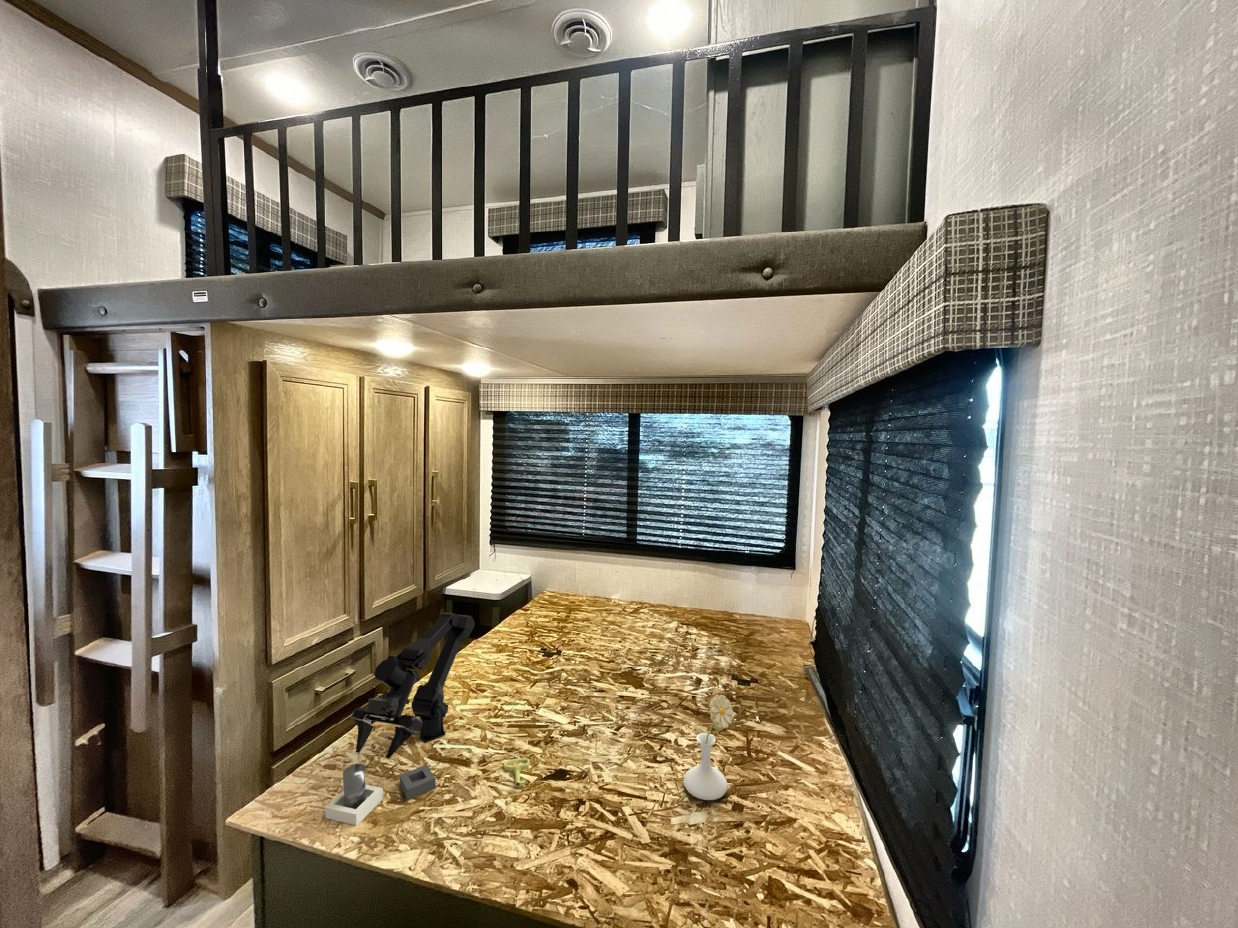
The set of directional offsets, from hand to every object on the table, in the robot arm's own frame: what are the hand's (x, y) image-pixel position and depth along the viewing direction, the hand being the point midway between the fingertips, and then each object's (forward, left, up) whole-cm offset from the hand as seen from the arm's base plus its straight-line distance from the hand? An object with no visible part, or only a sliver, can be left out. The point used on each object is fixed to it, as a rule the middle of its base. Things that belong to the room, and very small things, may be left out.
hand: (372, 755), depth 130 cm
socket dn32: (-10, +6, -10) cm, 15 cm away
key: (-33, +17, -10) cm, 38 cm away
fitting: (+5, +4, -9) cm, 11 cm away
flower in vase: (-69, +54, -10) cm, 88 cm away
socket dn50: (+5, +4, -10) cm, 11 cm away
